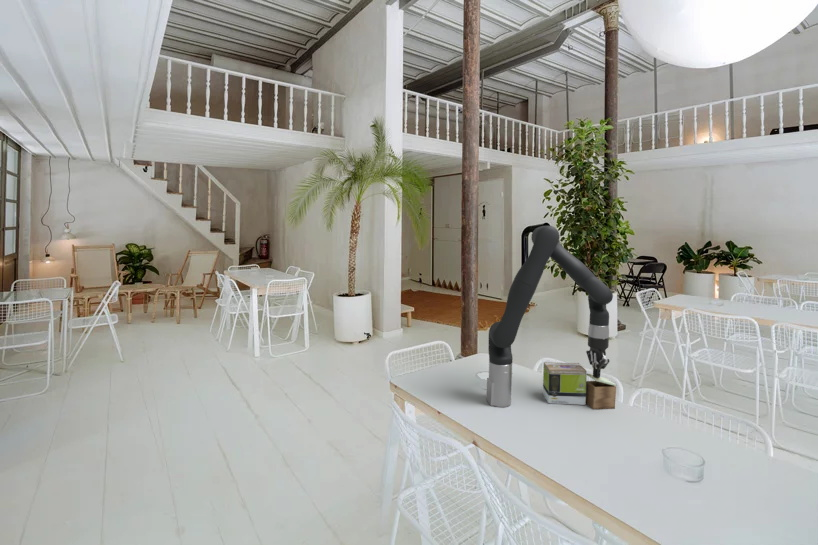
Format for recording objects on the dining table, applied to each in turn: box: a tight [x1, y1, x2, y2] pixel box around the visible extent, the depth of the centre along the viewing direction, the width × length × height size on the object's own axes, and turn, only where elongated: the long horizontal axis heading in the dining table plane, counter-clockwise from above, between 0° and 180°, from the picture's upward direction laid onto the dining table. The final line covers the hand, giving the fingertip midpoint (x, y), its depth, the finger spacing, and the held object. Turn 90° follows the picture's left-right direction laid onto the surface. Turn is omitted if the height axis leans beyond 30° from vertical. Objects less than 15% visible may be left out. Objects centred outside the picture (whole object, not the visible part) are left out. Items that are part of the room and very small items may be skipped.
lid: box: [586, 373, 617, 387], centre depth 164 cm, size 9×7×1 cm
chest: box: [585, 380, 617, 410], centre depth 165 cm, size 9×7×9 cm
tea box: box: [542, 361, 587, 406], centre depth 170 cm, size 15×10×15 cm, turn 84°
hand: (596, 377), depth 164 cm, fingers closed
